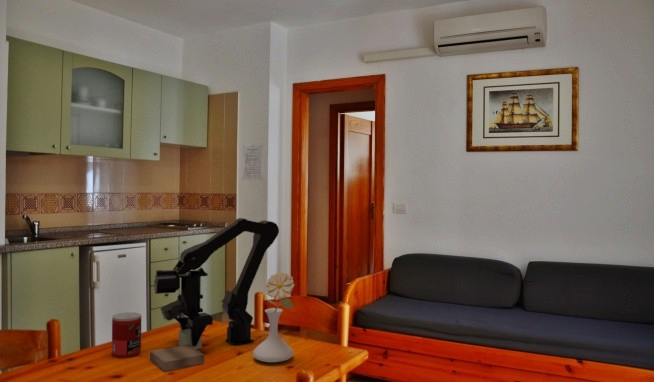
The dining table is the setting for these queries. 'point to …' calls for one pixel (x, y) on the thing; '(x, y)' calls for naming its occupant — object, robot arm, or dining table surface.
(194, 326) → the robot arm
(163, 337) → the dining table surface
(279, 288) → the flower in vase
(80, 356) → the dining table surface
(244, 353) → the dining table surface
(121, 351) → the canned food
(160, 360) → the base
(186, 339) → the cube
